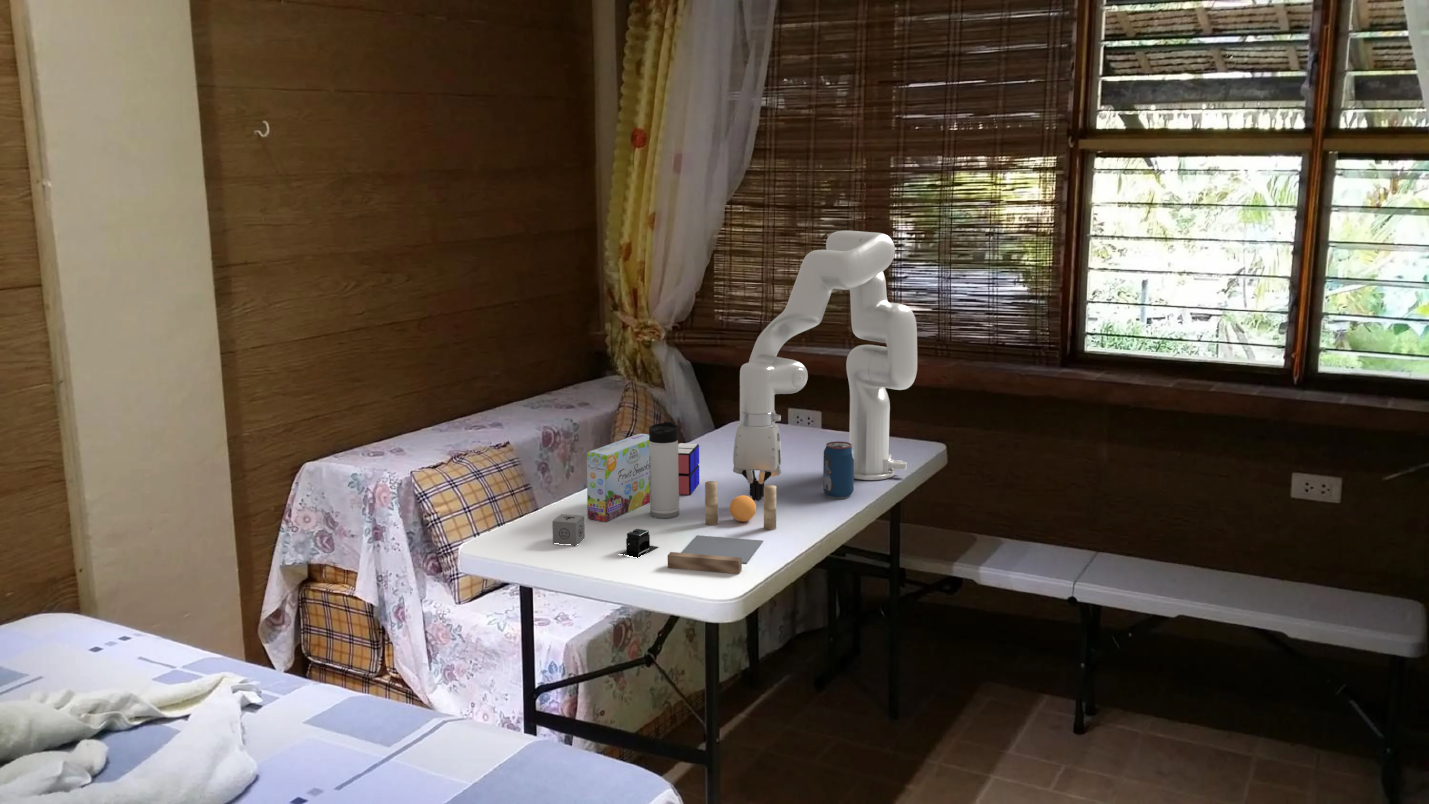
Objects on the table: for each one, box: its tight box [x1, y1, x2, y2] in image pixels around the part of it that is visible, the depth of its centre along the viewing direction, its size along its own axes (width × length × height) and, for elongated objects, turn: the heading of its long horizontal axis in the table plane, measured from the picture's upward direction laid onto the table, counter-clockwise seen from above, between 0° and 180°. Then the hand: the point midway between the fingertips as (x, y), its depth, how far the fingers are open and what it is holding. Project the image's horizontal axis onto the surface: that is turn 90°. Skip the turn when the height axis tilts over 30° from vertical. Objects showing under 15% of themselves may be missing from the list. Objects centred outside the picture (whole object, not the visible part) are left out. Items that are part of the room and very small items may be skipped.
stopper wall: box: [667, 551, 743, 575], centre depth 235 cm, size 14×2×2 cm, turn 75°
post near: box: [763, 484, 777, 531], centre depth 259 cm, size 3×3×9 cm
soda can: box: [822, 440, 855, 499], centre depth 282 cm, size 7×7×12 cm
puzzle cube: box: [678, 442, 700, 496], centre depth 289 cm, size 10×10×10 cm
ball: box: [729, 494, 757, 522], centre depth 264 cm, size 6×6×6 cm
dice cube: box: [551, 513, 586, 546], centre depth 251 cm, size 5×5×5 cm
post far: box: [704, 480, 719, 526], centre depth 262 cm, size 3×3×9 cm
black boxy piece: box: [619, 528, 659, 559], centre depth 245 cm, size 12×7×5 cm, turn 151°
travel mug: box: [648, 421, 680, 519], centre depth 268 cm, size 6×7×20 cm
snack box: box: [586, 433, 650, 523], centre depth 273 cm, size 21×6×15 cm, turn 151°
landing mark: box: [680, 534, 764, 564], centre depth 246 cm, size 14×14×1 cm
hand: (756, 499), depth 275 cm, fingers closed
